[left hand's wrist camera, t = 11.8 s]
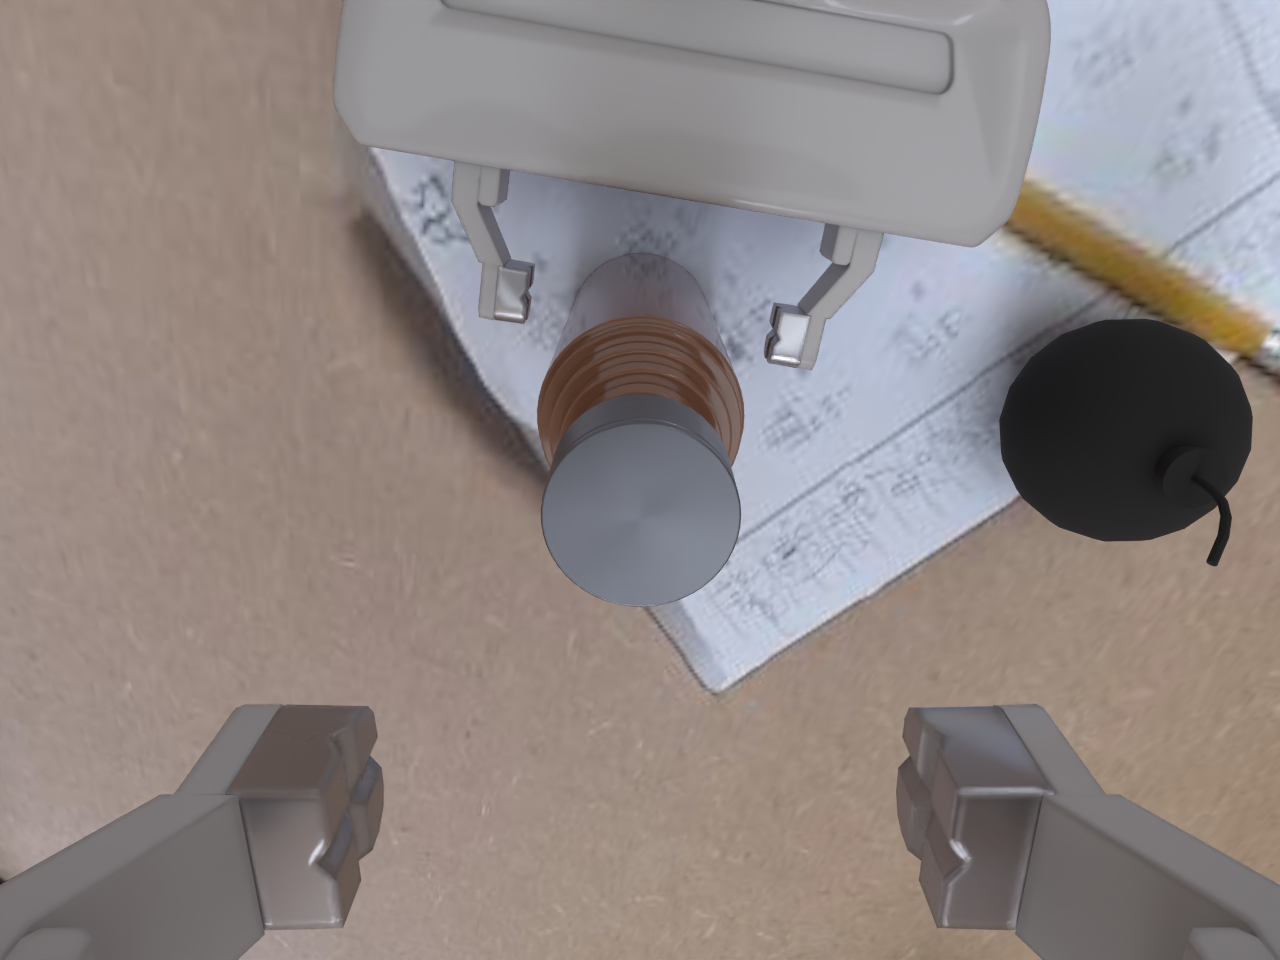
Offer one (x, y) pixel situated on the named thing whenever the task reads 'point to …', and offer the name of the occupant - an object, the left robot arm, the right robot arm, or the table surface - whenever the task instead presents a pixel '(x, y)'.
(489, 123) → the right robot arm
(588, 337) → the bottle
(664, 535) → the cap
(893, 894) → the table surface
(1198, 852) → the left robot arm
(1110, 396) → the bomb
